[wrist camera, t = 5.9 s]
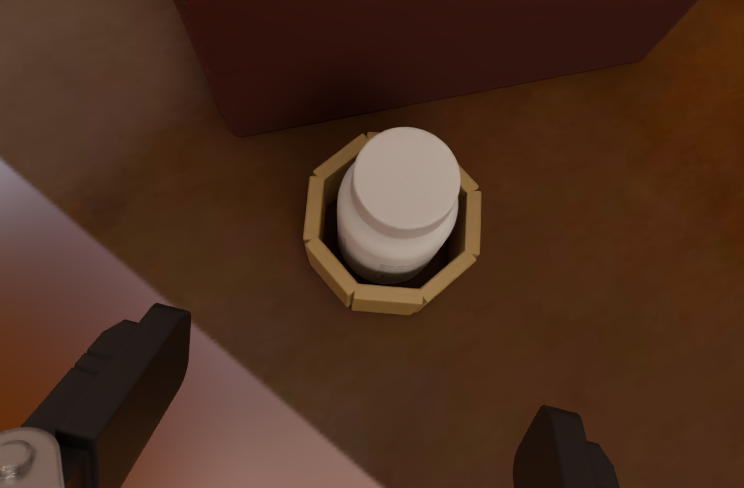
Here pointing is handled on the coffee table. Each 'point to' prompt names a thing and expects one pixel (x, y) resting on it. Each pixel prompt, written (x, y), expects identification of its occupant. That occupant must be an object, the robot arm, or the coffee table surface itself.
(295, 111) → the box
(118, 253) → the coffee table surface
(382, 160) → the pill bottle
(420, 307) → the stand
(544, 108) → the coffee table surface
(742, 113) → the coffee table surface
